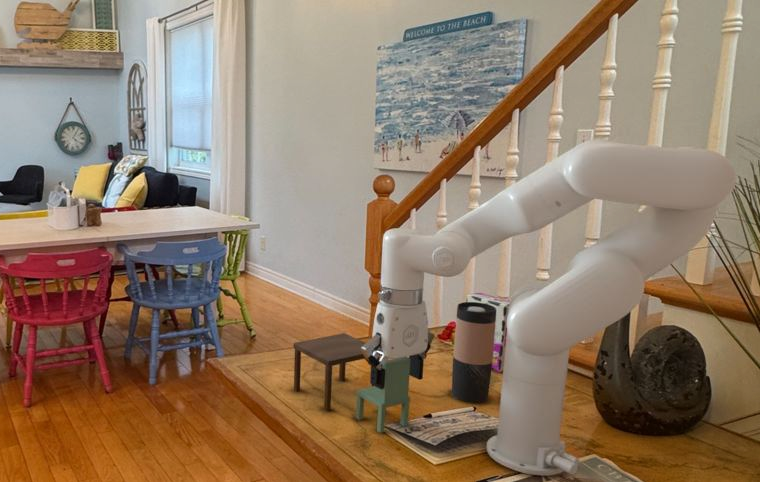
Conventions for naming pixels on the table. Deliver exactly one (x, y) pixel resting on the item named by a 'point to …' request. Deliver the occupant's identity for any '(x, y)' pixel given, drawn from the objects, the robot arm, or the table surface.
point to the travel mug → (473, 351)
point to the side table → (328, 358)
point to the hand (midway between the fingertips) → (396, 381)
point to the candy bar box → (496, 326)
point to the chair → (388, 392)
